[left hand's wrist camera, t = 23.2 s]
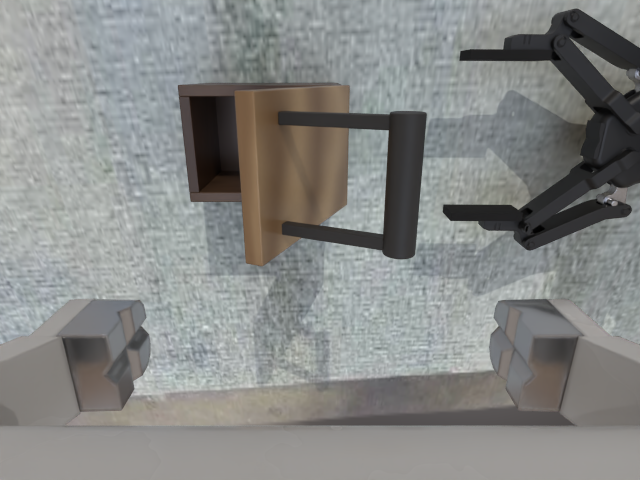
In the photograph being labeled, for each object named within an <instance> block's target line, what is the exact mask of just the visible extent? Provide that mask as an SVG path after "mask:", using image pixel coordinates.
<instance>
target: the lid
mask: <svg viewBox="0 0 640 480" xmlns="http://www.w3.org/2000/svg"><path fill="white" fill-rule="evenodd" d="M349 90H350V86H349V85H331V86H312V87H294V88H275V89H257V90H238V91H235V92H234V93H235V108H236V123H237V138H238V153H239V167H240V182H241V197H242V212H243V227H244V242H245V257H246V263H247V264H253V265H258V266H264V265H265V264H266V263H268V262H269V261H271V260H272V259H273V258H275V257H276V256H277V255H279V254H280V253H281V252H283V251H284V250H286V249H287V248H288V247H290V246H291V245H292V244H294V243H295V242H296V241H298V240H299V239H301V238H306V239H313V240H319V241H326V242H332V243H339V244H345V245H352V246H358V247H364V248H371V249H377V250H382V252H383V254H384V255H385V256H387V257H390V258H394V259H408V258H412V257H413V256H414V255H415V248H416V236H417V224H418V212H419V200H420V188H421V176H422V164H423V152H424V140H425V128H426V116H427V114H426V113H425V112H418V111H394V112H390V114H361V113H349ZM349 128H354V129H375V130H389V138H388V156H387V175H386V193H385V211H384V230H383V234H376V233H369V232H362V231H355V230H348V229H341V228H334V227H327V226H320V224H321V223H322V222H324V221H325V220H326V219H328V218H329V217H331V216H332V215H333V214H335V213H336V212H337V211H339V210H340V209H341V208H343V207H344V206H346V205H347V180H348V135H349Z"/></svg>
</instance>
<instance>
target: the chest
mask: <svg viewBox="0 0 640 480" xmlns="http://www.w3.org/2000/svg"><path fill="white" fill-rule="evenodd" d="M331 85H340V84H338V83H202V84H188V85H178V91H179V96H180V97H179V101H180V110H181V119H182V128H183V137H184V146H185V155H186V164H187V173H188V182H189V191H190V199H191V202H242V197H241V182H240V167H239V153H238V138H237V123H236V108H235V93H234V92H235V91H238V90H257V89H275V88H294V87H312V86H331Z"/></svg>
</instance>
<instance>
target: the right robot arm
mask: <svg viewBox="0 0 640 480" xmlns="http://www.w3.org/2000/svg"><path fill="white" fill-rule="evenodd" d="M551 24H552V25H551V27H550V29H549V31H548V32H547V33H546V34H544V35H537V34H531V35H530V34H518V35H513V36H510V37H507V38H505V42H504V49H503V50H483V49H470V50H465V51H461V52H460V61H545V60H550V61H551V62H552V63H553V64H554V65H555V66H556V67H557V68H558V70H559V71H560V72H561V73H562V74H563V75H564V76H565V77H566V78H567V80H568V81H569V82H570V83H571V84H572V85H573V86H574V87H575V88H576V89H577V91H578V92H579V93H580V94H581V95H582V96H583V97H584V98H585V102H586V104H587V105H588V106H589V107H590V108H591V109H592V110H593V112H594V113H595V115H594V116H593V117H592V119H591V120H588V122H587V126H586V140H585V142H584V144H583V146H582V149H581V154H580V155H581V156H583V160H584V161H583V162H581V163H580V164H578V165H577V166H575V167H574V168H573V169H571V171H570V174H569V175H567V176H566V177H564V178H563V179H562V180H560V181H559V182H557V183H556V184H554V185H553V186H552V187H550V188H549V189H547V190H546V191H545V192H543V193H542V194H540V195H539V196H538V197H536V198H535V199H533V200H532V201H530V202H529V203H528V204H526V205H525V206H523V207H522V208H521V209H519V210H517V209H516V208H515V207H513V206H512V205H443V213H444V214H445V215H446V216H447V217H448V218H449V220H450V221H479V223H478V224H479V225H480V226H481V227H482V228H484V229H486V230H488V231H494V230H495V231H498V230H499V231H514V239H515V240H516V241H517V242H518V243H519V244H520V245H522V246H523V247H524V248H525V249H527V250H533V249H536V248H538V247H540V246H543V245H545V244H548V243H550V242H552V241H555V240H557V239H559V238H562V237H564V236H567V235H569V234H571V233H574V232H576V231H578V230H581V229H583V228H586V227H588V226H590V225H593V224H595V223H598V222H600V221H602V220H605V219H612V218H622V217H627V216H628V215H629V214H630V213H631V211H632V208H631V206H629V205H627V204H625V202H626V195H627V188H628V187H630V186H632V185H634V184H637V183H640V48H639V47H637V46H636V45H634V44H633V43H631V42H629V41H628V40H626V39H625V38H623V37H622V36H620V35H618V34H617V33H615V32H614V31H612V30H611V29H609V28H608V27H606V26H604V25H603V24H601V23H600V22H598V21H597V20H595V19H593V18H592V17H590V16H589V15H587V14H586V13H584V12H582V11H581V10H579V9H572V10H568V11H564V12H560V13H557V14H555V15H554V16H553V18H552V21H551ZM570 38H571V39H573V40H574V41H576V42H577V43H579V44H581V45H582V46H584V47H586V48H587V49H589V50H590V51H592V52H594V53H595V54H597V55H598V56H600V57H602V58H603V59H605V60H606V61H608V62H610V63H611V64H613V65H615V66H617V67H619V68H621V69H625V70H627V72H626V75H627V76H628V78H629V79H630V80H632V81H634V82H635V89H634V90H631V91H629V92H628V93H626V94H625V95H622V94H621V93H620V92H618V91H616V90H614V89H613V88H612V86H611V85H610V84H609V83H608V82H607V81H606V80H605V78H604V77H603V76H602V75H601V74H600V73H599V72H598V70H597V69H596V68H595V67H594V66H593V65H592V64H591V62H590V61H589V60H588V59H587V58H586V57H585V56H584V54H583V53H582V52H581V51H580V50H579V49H578V48H577V46H576V45H575V44H574V43H573V42H572V41H571V40H570ZM593 171H594V172H593ZM591 172H593V173H591ZM606 182H607V183H608V184H610V185H611V186H610V188H609V190H608V191H607V192H605V193H602V194H598V195H597V196H596V199H594V200H589V201H586V202H583V203H581V204H578V205H576V206H574V207H571V208H569V209H567V210H564V211H562V212H560V213H558V212H559V211H560V210H562V209H563V208H565V207H566V206H568V205H569V204H571V203H572V202H573V201H575V200H576V199H578V198H579V197H581V196H582V195H584V194H585V193H587V192H588V191H589V190H592V189H597V188H599V187H601V186H602V185H603V184H605V183H606ZM556 213H557V214H556Z"/></svg>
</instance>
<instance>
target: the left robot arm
mask: <svg viewBox="0 0 640 480" xmlns="http://www.w3.org/2000/svg"><path fill="white" fill-rule="evenodd" d="M145 319H146V313H145V308H144V304H143V303H142V302H141V301H140V300H111V299H74V300H69V301H68V302H67V303H66V304H65V305H64V306H62V307H61V308H60V309H59V310H58V311H57V312H56V313H55V314H53V315H52V316H51V317H50V318H49V319H48V320H47V321H46V322H44V323H43V324H42V325H41V326H40V327H39V328H38V329H36V330H35V331H34V332H33V333H32V334H31V335H30V336H21V337H19V338H16V339H13V340H11V341H8V342H6V343H3V344H1V345H0V480H640V345H639V344H637V343H634V342H632V341H629V340H627V339H624V338H621V337H619V336H610V335H609V334H608V333H607V332H606V331H605V330H604V329H602V328H601V327H600V326H599V325H598V324H597V323H596V322H595V321H593V320H592V319H591V318H590V317H589V316H588V315H587V314H586V313H584V312H583V311H582V310H581V309H580V308H579V307H578V306H577V305H575V304H574V303H573V302H572V301H571V300H568V299H529V300H502V301H498V303H497V305H496V308H495V313H494V319H495V320H496V322H497V324H498V325H499V327H498V328H497V329H496V330H495V331H494V332H493V333H492V334H491V338H490V346H489V349H490V359H491V362H492V365H493V368H494V370H495V372H496V373H497V375H498V376H500V377H501V378H503V379H504V380H506V381H507V384H506V390H507V392H508V394H509V395H510V397H511V399H512V400H513V402H514V404H515V405H516V407H517V409H518V410H519V411H553V412H560V414H561V415H563V416H564V417H565V418H566V419H568V420H569V421H571V422H572V423H573V424H575V425H576V426H64V425H66V424H67V423H68V422H70V421H71V420H72V419H74V418H75V417H76V416H78V415H79V414H80V412H87V411H121V410H122V409H123V407H124V405H125V404H126V402H127V400H128V399H129V397H130V395H131V394H132V392H133V390H134V384H133V381H134V380H136V379H137V378H139V377H140V376H142V375H143V373H144V372H145V370H146V368H147V366H148V362H149V358H150V337H149V334H148V333H147V332H146V331H145V330H144V329H143V328H142V327H141V325H142V324H143V322H144V320H145Z"/></svg>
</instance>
